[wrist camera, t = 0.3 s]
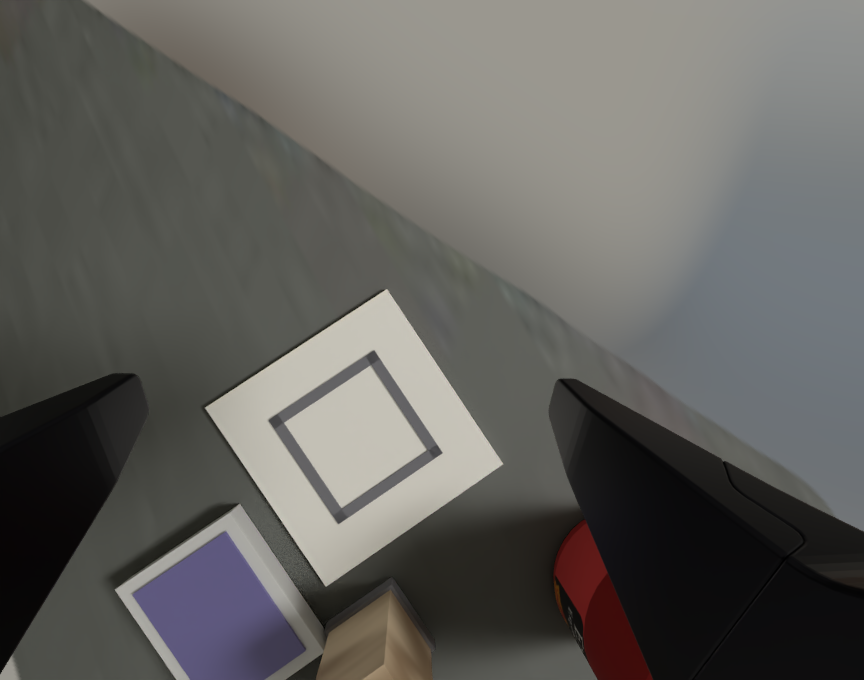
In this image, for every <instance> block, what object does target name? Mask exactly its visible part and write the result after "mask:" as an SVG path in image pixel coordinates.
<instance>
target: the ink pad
mask: <svg viewBox="0 0 864 680" xmlns="http://www.w3.org/2000/svg"><path fill="white" fill-rule="evenodd" d="M115 591H116V592H117V594H118V595H119V597H120V598H121V600H122V601H123V602H124V604H125V605H126V607H127V608H128V610H129V611H130V613H131V614H132V616H133V617H134V619H135V620H136V621H137V623H138V624H139V626H140V627H141V629H142V630H143V632H144V633H145V635H146V636H147V638H148V639H149V640H150V642H151V643H152V645H153V646H154V648H155V649H156V651H157V652H158V654H159V655H160V657H161V658H162V659H163V661H164V662H165V664H166V665H167V667H168V668H169V670H170V671H171V673H172V674H173V676H174V677H175V678H176V680H286V679H287V678H288V677H290V676H291V675H293V674H294V673H296V672H297V671H298V670H300V669H301V668H303V667H304V666H306V665H307V664H308V663H310V662H311V661H313V660H314V659H315V658H317V657H318V656H320V655H321V654H323V652H324V649H325V645H326V642H327V638H328V637H327V635H326V634H325V633H324V630H325V629H324V628H323V626H322V625H321V623H320V622H319V620H318V619H317V617H316V616H315V614H314V613H313V611H312V610H311V608H310V607H309V605H308V604H307V602H306V601H305V599H304V598H303V596H302V595H301V594H300V592H299V591H298V589H297V588H296V586H295V585H294V583H293V582H292V580H291V579H290V577H289V576H288V574H287V573H286V571H285V570H284V568H283V567H282V565H281V564H280V562H279V561H278V560H277V558H276V557H275V555H274V554H273V552H272V551H271V549H270V548H269V546H268V545H267V543H266V542H265V540H264V539H263V537H262V536H261V534H260V533H259V531H258V530H257V528H256V527H255V526H254V524H253V523H252V521H251V520H250V518H249V517H248V515H247V514H246V512H245V511H244V509H243V508H242V506H241V505H240V504H238V505H237V506H236V507H234V508H233V509H231V510H230V511H228V512H227V513H225V514H224V515H222V516H221V517H219V518H218V519H216V520H215V521H213V522H212V523H210V524H209V525H207V526H206V527H204V528H203V529H201V530H200V531H198V532H197V533H195V534H194V535H192V536H191V537H189V538H188V539H186V540H185V541H183V542H182V543H180V544H179V545H177V546H176V547H174V548H173V549H171V550H170V551H168V552H167V553H165V554H164V555H162V556H161V557H159V558H158V559H156V560H155V561H153V562H152V563H150V564H149V565H148V566H146V567H145V568H143V569H142V570H140V571H139V572H137V573H136V574H134V575H133V576H131V577H130V578H129V579H127V580H126V581H125V582H124V583H123V584H121V585H120V586H119V587H118V588H116V589H115Z"/></svg>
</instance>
